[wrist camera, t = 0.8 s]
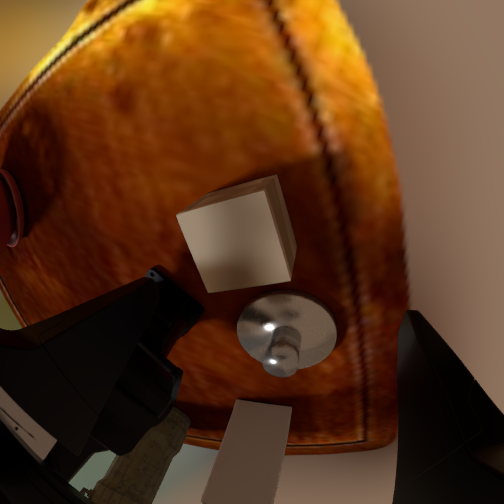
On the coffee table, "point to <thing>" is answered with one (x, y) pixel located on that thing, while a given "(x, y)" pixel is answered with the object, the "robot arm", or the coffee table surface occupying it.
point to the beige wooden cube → (241, 236)
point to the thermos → (142, 464)
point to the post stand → (287, 331)
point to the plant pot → (10, 212)
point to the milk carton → (250, 455)
